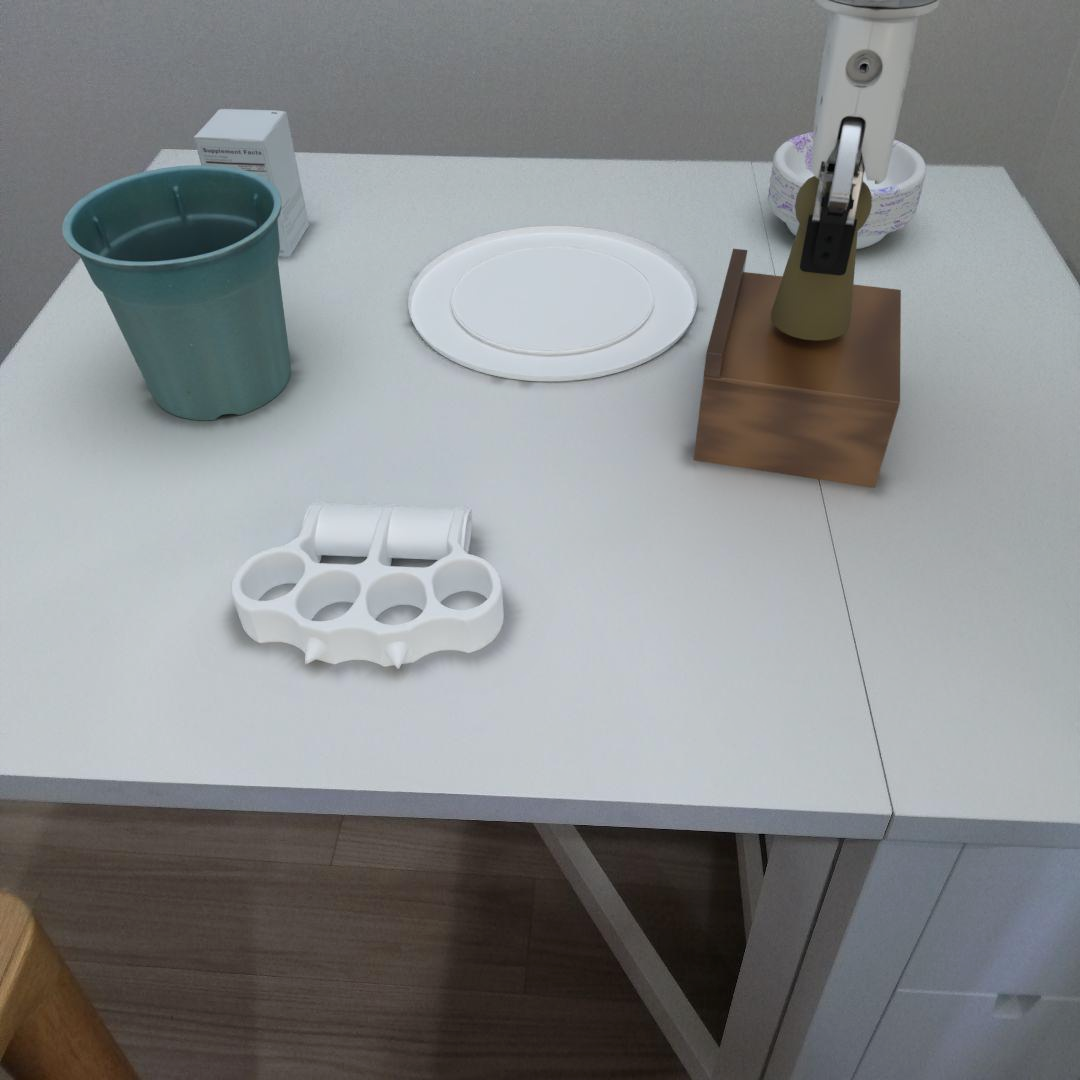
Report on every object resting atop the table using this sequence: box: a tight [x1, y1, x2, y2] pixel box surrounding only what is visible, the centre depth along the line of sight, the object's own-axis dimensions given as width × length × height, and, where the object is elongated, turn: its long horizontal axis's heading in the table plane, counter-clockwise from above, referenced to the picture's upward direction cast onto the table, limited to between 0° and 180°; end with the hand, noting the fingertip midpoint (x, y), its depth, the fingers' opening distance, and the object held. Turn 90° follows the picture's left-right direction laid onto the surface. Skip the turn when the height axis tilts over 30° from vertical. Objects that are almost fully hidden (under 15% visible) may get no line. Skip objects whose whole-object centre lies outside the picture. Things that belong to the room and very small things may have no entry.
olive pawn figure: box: [771, 174, 872, 341], centre depth 72 cm, size 6×6×11 cm
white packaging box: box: [193, 108, 310, 258], centre depth 101 cm, size 7×7×13 cm
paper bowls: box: [767, 131, 927, 250], centre depth 102 cm, size 15×15×8 cm
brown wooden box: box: [693, 248, 902, 489], centre depth 78 cm, size 14×16×10 cm
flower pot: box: [61, 164, 292, 421], centre depth 81 cm, size 16×16×16 cm
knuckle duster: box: [230, 500, 505, 670], centre depth 67 cm, size 3×18×15 cm
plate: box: [407, 225, 698, 382], centre depth 95 cm, size 28×28×1 cm
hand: (824, 249), depth 71 cm, fingers closed on olive pawn figure, 5 cm apart
